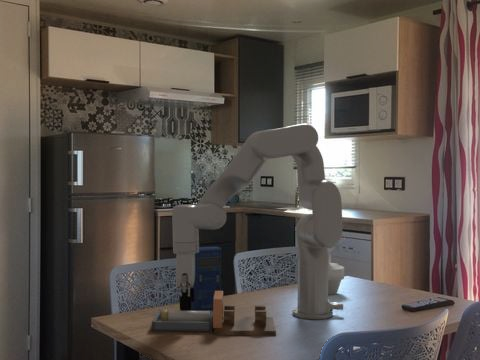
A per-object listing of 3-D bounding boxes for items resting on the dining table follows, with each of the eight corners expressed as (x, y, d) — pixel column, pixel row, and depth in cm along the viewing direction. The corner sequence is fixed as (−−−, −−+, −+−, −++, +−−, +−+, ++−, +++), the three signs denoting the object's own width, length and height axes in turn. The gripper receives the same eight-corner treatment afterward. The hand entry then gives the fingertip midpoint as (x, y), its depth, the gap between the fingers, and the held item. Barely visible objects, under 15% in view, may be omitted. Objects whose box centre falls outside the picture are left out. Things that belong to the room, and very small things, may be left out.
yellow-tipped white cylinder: (209, 323, 160) (210, 311, 161) (209, 322, 157) (209, 310, 158) (162, 323, 160) (163, 310, 161) (160, 321, 157) (161, 309, 158)
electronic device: (195, 313, 172) (196, 249, 171) (188, 309, 176) (189, 247, 176) (222, 309, 177) (222, 247, 176) (214, 306, 181) (215, 245, 181)
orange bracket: (222, 318, 162) (223, 290, 161) (221, 328, 151) (222, 299, 151) (214, 317, 162) (215, 290, 161) (213, 328, 151) (213, 299, 151)
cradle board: (272, 321, 163) (272, 302, 163) (275, 335, 149) (276, 315, 149) (216, 320, 163) (216, 302, 163) (213, 334, 149) (214, 314, 149)
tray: (214, 319, 165) (214, 310, 165) (212, 332, 152) (212, 322, 152) (158, 318, 165) (158, 310, 165) (151, 331, 152) (151, 322, 152)
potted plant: (346, 296, 196) (348, 227, 196) (314, 296, 196) (315, 227, 196) (340, 289, 209) (341, 224, 208) (310, 288, 209) (311, 223, 208)
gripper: (176, 243, 167) (177, 298, 167) (169, 252, 149) (170, 314, 150) (201, 242, 167) (202, 298, 167) (196, 251, 149) (197, 313, 150)
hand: (187, 305), depth 159 cm, fingers open, 9 cm apart
